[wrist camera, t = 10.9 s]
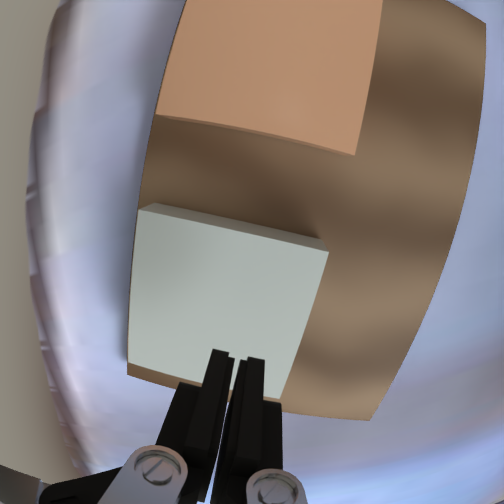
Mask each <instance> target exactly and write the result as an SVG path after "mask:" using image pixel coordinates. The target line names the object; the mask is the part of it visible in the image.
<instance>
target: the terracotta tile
mask: <svg viewBox="0 0 504 504" xmlns="http://www.w3.org/2000/svg"><path fill="white" fill-rule="evenodd" d="M382 3H383V0H187V2H186V5H185V8H184V11H183V14H182V17H181V20H180V23H179V26H178V29H177V33H176V36H175V39H174V43H173V46H172V50H171V53H170V57H169V60H168V64H167V68H166V72H165V76H164V79H163V83H162V88H161V92H160V96H159V100H158V104H157V109H156V113H155V114H157V115H160V116H163V117H166V118H169V119H173V120H181V121H187V122H194V123H200V124H206V125H212V126H218V127H224V128H229V129H234V130H239V131H245V132H249V133H254V134H259V135H264V136H268V137H273V138H277V139H282V140H286V141H290V142H294V143H298V144H302V145H306V146H310V147H314V148H318V149H322V150H325V151H329V152H333V153H336V154H340V155H343V156H355V152H356V147H357V143H358V139H359V134H360V130H361V125H362V120H363V115H364V111H365V106H366V101H367V96H368V91H369V85H370V80H371V74H372V69H373V63H374V57H375V51H376V45H377V39H378V32H379V25H380V18H381V11H382Z"/></svg>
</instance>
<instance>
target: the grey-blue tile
mask: <svg viewBox="0 0 504 504" xmlns="http://www.w3.org/2000/svg"><path fill="white" fill-rule="evenodd" d="M328 254H329V251H328V249H327V248H326V246H325V244H324V243H323V241H322V240H321V239H317V238H313V237H308V236H304V235H300V234H296V233H292V232H287V231H283V230H279V229H274V228H270V227H266V226H261V225H257V224H252V223H248V222H243V221H239V220H234V219H230V218H225V217H221V216H216V215H212V214H207V213H202V212H198V211H193V210H188V209H184V208H179V207H174V206H169V205H164V204H160V203H153V204H150V205H148V206H146V207H143V208H141V209H139V210H138V218H137V226H136V235H135V244H134V254H133V265H132V278H131V292H130V310H129V337H128V362H129V363H132V364H135V365H138V366H142V367H145V368H148V369H152V370H155V371H158V372H162V373H165V374H169V375H172V376H176V377H180V378H184V379H187V380H191V381H195V382H199V383H203V379H204V376H205V372H206V369H207V366H208V362H209V359H210V356H211V352H212V349H217V350H222V351H226V352H229V356H228V357H233V358H235V362H234V367H233V373H232V378H231V384H230V390H233V386H234V382H235V378H236V374H237V370H238V366H239V362H240V359H242V360H247V357H248V356H249V357H254V358H259V359H264V360H265V374H264V396H266V397H271V398H277V399H280V396H281V394H282V391H283V389H284V386H285V383H286V381H287V378H288V375H289V372H290V370H291V367H292V364H293V361H294V359H295V356H296V353H297V350H298V347H299V345H300V342H301V339H302V336H303V333H304V330H305V327H306V324H307V321H308V318H309V315H310V312H311V309H312V306H313V303H314V300H315V297H316V293H317V290H318V287H319V284H320V281H321V277H322V274H323V271H324V268H325V264H326V261H327V258H328Z"/></svg>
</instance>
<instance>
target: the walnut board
mask: <svg viewBox="0 0 504 504" xmlns="http://www.w3.org/2000/svg"><path fill="white" fill-rule="evenodd" d="M186 2H187V0H186V1H185V4H184V7H183V10H182V13H181V16H180V19H179V22H178V25H177V28H176V32H175V35H174V38H173V42H172V45H171V49H170V52H169V56H168V59H167V63H166V67H165V70H164V74H163V78H162V82H161V86H160V90H159V94H158V99H157V103H156V107H155V112H154V117H153V121H152V126H151V131H150V136H149V141H148V146H147V152H146V157H145V163H144V169H143V175H142V181H141V188H140V195H139V202H138V209H137V217H136V225H135V234H134V243H133V253H132V264H131V276H130V291H129V309H128V337H129V310H130V292H131V278H132V265H133V254H134V244H135V235H136V226H137V218H138V210H139V209H141V208H143V207H146V206H148V205H150V204H153V203H160V204H164V205H169V206H174V207H179V208H184V209H188V210H193V211H198V212H202V213H207V214H212V215H216V216H221V217H225V218H230V219H234V220H239V221H243V222H248V223H252V224H257V225H261V226H266V227H270V228H274V229H279V230H283V231H287V232H292V233H296V234H300V235H304V236H308V237H313V238H317V239H321V240H322V241H323V243H324V244H325V246H326V248H327V249H328V251H329V254H328V258H327V261H326V264H325V268H324V271H323V274H322V277H321V281H320V284H319V287H318V290H317V293H316V297H315V300H314V303H313V306H312V309H311V312H310V315H309V318H308V321H307V324H306V327H305V330H304V333H303V336H302V339H301V342H300V345H299V347H298V350H297V353H296V356H295V359H294V361H293V364H292V367H291V370H290V372H289V375H288V378H287V381H286V383H285V386H284V389H283V391H282V394H281V396H280V399H277V398H271V397H266V396H264V397H263V400H267V401H273V402H279V403H281V405H282V412H287V413H294V414H302V415H310V416H318V417H327V418H338V419H350V420H364V421H370V419H371V418H372V416H373V414H374V413H375V411H376V409H377V408H378V406H379V404H380V403H381V401H382V399H383V397H384V396H385V394H386V392H387V390H388V389H389V387H390V385H391V383H392V381H393V380H394V378H395V376H396V374H397V372H398V370H399V368H400V366H401V364H402V362H403V360H404V358H405V357H406V355H407V352H408V350H409V348H410V346H411V344H412V342H413V340H414V338H415V336H416V334H417V331H418V329H419V327H420V325H421V323H422V320H423V318H424V316H425V313H426V311H427V309H428V306H429V304H430V302H431V299H432V297H433V294H434V292H435V289H436V286H437V284H438V281H439V279H440V276H441V273H442V270H443V268H444V265H445V262H446V259H447V256H448V253H449V250H450V247H451V244H452V241H453V238H454V235H455V231H456V228H457V225H458V221H459V218H460V214H461V210H462V207H463V203H464V199H465V195H466V191H467V187H468V183H469V178H470V174H471V169H472V164H473V159H474V154H475V149H476V143H477V137H478V131H479V124H480V117H481V109H482V100H483V90H484V78H485V60H486V23H484V22H483V21H481V20H479V19H478V18H476V17H474V16H473V15H471V14H469V13H468V12H466V11H464V10H463V9H461V8H459V7H457V6H455V5H454V4H452V3H450V2H448V1H446V0H383V3H382V11H381V18H380V25H379V32H378V39H377V45H376V51H375V57H374V63H373V69H372V74H371V80H370V85H369V91H368V96H367V101H366V106H365V111H364V115H363V120H362V125H361V130H360V134H359V139H358V143H357V147H356V152H355V156H343V155H340V154H336V153H333V152H329V151H325V150H322V149H318V148H314V147H310V146H306V145H302V144H298V143H294V142H290V141H286V140H282V139H277V138H273V137H268V136H264V135H259V134H254V133H249V132H245V131H239V130H234V129H229V128H224V127H218V126H212V125H206V124H200V123H194V122H187V121H181V120H173V119H169V118H166V117H163V116H160V115H157V114H155V113H156V109H157V104H158V100H159V96H160V92H161V88H162V83H163V79H164V76H165V72H166V68H167V64H168V60H169V57H170V53H171V50H172V46H173V43H174V39H175V36H176V33H177V29H178V26H179V23H180V20H181V17H182V14H183V11H184V8H185V5H186ZM127 375H130V376H133V377H136V378H139V379H142V380H146V381H149V382H152V383H155V384H159V385H162V386H166V387H169V388H173V389H177V386H178V384H179V382H184V383H188V384H192V385H196V386H200V387H201V386H202V383H199V382H195V381H191V380H187V379H184V378H180V377H176V376H172V375H169V374H165V373H162V372H158V371H155V370H152V369H148V368H145V367H142V366H138V365H135V364H132V363H129V362H128V338H127ZM231 394H232V390H230V389H229V395H228V401H227V402H230V398H231Z"/></svg>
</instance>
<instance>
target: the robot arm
mask: <svg viewBox="0 0 504 504" xmlns="http://www.w3.org/2000/svg"><path fill="white" fill-rule="evenodd" d="M228 356H229V352H226V351H222V350H217V349H212V352H211V356H210V359H209V362H208V366H207V369H206V372H205V376H204V379H203V383H202V386H201V387H200V386H196V385H192V384H188V383H184V382H179V384H178V386H177V389H176V392H175V394H174V397H173V399H172V402H171V405H170V407H169V410H168V412H167V415H166V418H165V420H164V423H163V425H162V428H161V431H160V433H159V436H158V439H157V441H156V444H155V445H149V446H144V447H141V448H139V449H137V450H135V451H134V452H133V453H132V454H131V455H130V457H129V458H128V460H127V461H126V463H125V464H124V466H122V467H119V468H116V469H112V470H109V471H105V472H101V473H97V474H94V475H90V476H86V477H82V478H77V479H73V480H69V481H64V482H59V483H55V484H52V485H51V484H47V483H44V482H42V481H41V479H38V478H36V477H33V476H30V475H27V474H24V473H21V472H18V471H16V470H13V469H10V468H8V467H5V466H2V465H0V504H197V501H199V502H203V503H204V502H205V498H206V494H207V491H208V487H209V484H210V480H211V476H212V473H213V469H214V465H215V462H216V458H217V454H218V449H219V445H220V450H219V455H218V461H217V467H216V472H215V478H214V483H213V489H212V494H211V500H210V504H308V503H307V499H306V495H305V491H304V488H303V486H302V483H301V482H300V481H299V480H298V479H297V478H296V477H295V476H294V475H292V474H291V473H289V472H286V471H283V450H282V405H281V403H279V402H273V401H267V400H263V397H264V374H265V360H264V359H259V358H254V357H249V356H248V357H247V360H242V359H240V362H239V366H238V370H237V374H236V378H235V382H234V386H233V390H232V394H231V398H230V402H229V405H228V409H227V413H226V417H225V412H226V406H227V401H228V395H229V389H230V384H231V378H232V373H233V367H234V362H235V358H233V357H228ZM224 417H225V422H224ZM223 423H224V427H223ZM222 428H223V433H222ZM221 434H222V439H221ZM220 439H221V444H220Z"/></svg>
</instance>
